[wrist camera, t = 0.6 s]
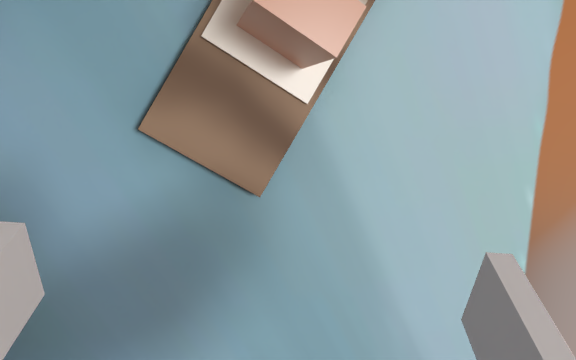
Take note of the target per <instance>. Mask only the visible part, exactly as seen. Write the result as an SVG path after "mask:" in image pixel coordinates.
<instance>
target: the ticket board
mask: <svg viewBox="0 0 576 360" xmlns="http://www.w3.org/2000/svg"><path fill="white" fill-rule="evenodd" d="M221 1H222V0H212V2H211V3H210V5H209V7H208V9H207V10H206V12H205V14H204V16H203V17H202V19H201V21H200V23H199V24H198V26H197V28H196V29H195V31H194V33H193V35H192V36H191V38H190V40H189V42H188V43H187V45H186V47H185V48H184V50H183V52H182V54H181V55H180V57H179V59H178V61H177V62H176V64H175V66H174V68H173V69H172V71H171V73H170V74H169V76H168V78H167V80H166V81H165V83H164V85H163V87H162V88H161V90H160V92H159V93H158V95H157V97H156V99H155V100H154V102H153V104H152V106H151V107H150V109H149V111H148V112H147V114H146V116H145V118H144V119H143V121H142V123H141V125H140V126H139V128H138V130H140V131H142V132H144V133H145V134H147V135H149V136H151V137H153V138H154V139H156V140H158V141H160V142H162V143H163V144H165V145H167V146H169V147H171V148H172V149H174V150H176V151H178V152H179V153H181V154H183V155H185V156H187V157H188V158H190V159H192V160H194V161H196V162H197V163H199V164H201V165H203V166H205V167H206V168H208V169H210V170H212V171H214V172H215V173H217V174H219V175H221V176H223V177H224V178H226V179H228V180H230V181H232V182H233V183H235V184H237V185H239V186H241V187H242V188H244V189H246V190H248V191H250V192H251V193H253V194H255V195H257V196H259V197H260V196H261V194H262V193H263V191H264V189H265V188H266V186H267V184H268V183H269V181H270V179H271V177H272V176H273V174H274V172H275V171H276V169H277V167H278V165H279V164H280V162H281V160H282V159H283V157H284V155H285V153H286V152H287V150H288V148H289V147H290V145H291V143H292V141H293V140H294V138H295V136H296V135H297V133H298V131H299V130H300V128H301V126H302V124H303V123H304V121H305V119H306V118H307V116H308V114H309V112H310V111H311V109H312V107H313V106H314V104H315V102H316V100H317V99H318V97H319V95H320V94H321V92H322V90H323V88H324V87H325V85H326V83H327V82H328V80H329V78H330V77H331V75H332V73H333V71H334V70H335V68H336V66H337V65H338V63H339V61H340V59H341V58H342V56H343V54H344V53H345V51H346V49H347V47H348V46H349V44H350V42H351V41H352V39H353V37H354V35H355V34H356V32H357V30H358V29H359V27H360V25H361V23H362V22H363V20H364V18H365V17H366V15H367V13H368V12H369V10H370V8H371V6H372V5H373V3H374V1H375V0H359V1H360V2H361V3H363V4H364V5H365V6H367V7H366V8H365V10H364V12H363V14H362V15H361V17H360V19H359V20H358V22H357V24H356V26H355V27H354V29H353V31H352V32H351V34H350V36H349V38H348V39H347V41H346V43H345V44H344V46H343V48H342V50H341V51H340V53H339V55H338V56H337V58H334V60H333V61H332V63H331V65H330V66H329V68H328V70H327V72H326V73H325V75H324V77H323V78H322V80H321V82H320V84H319V85H318V87H317V89H316V90H315V92H314V94H313V96H312V97H311V99H310V101H309V102H308V104H306V103H304V102H302V101H301V100H299V99H298V98H296V97H295V96H293V95H292V94H290V93H288V92H287V91H285V90H284V89H282V88H281V87H279V86H277V85H276V84H274V83H273V82H271V81H270V80H268V79H267V78H265V77H263V76H262V75H260V74H259V73H257V72H256V71H254V70H252V69H251V68H249V67H248V66H246V65H245V64H243V63H241V62H240V61H238V60H237V59H235V58H234V57H232V56H231V55H229V54H227V53H226V52H224V51H223V50H221V49H220V48H218V47H216V46H215V45H213V44H212V43H210V42H209V41H207V40H206V39H204V38H202V37H201V35H202V34H203V32H204V30H205V28H206V27H207V25H208V23H209V22H210V20H211V18H212V16H213V15H214V13H215V11H216V9H217V8H218V6H219V4H220V2H221Z"/></svg>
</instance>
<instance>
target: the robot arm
mask: <svg viewBox="0 0 576 360" xmlns="http://www.w3.org/2000/svg"><path fill="white" fill-rule="evenodd" d="M44 295H45V293H44V290H43V286H42V283H41V279H40V275H39V272H38V268H37V265H36V261H35V258H34V254H33V250H32V247H31V243H30V240H29V236H28V233H27V229H26V225H25V223H16V222H0V360H3V359H4V357H5V355H6V354H7V352H8V351H9V349H10V348H11V346H12V345H13V343H14V341H15V340H16V338H17V337H18V335H19V334H20V332H21V331H22V329H23V327H24V326H25V324H26V323H27V321H28V320H29V318H30V317H31V315H32V313H33V312H34V310H35V309H36V307H37V306H38V304H39V303H40V301H41V299H42V298H43V296H44ZM461 320H462V323H463V326H464V328H465V331H466V333H467V336H468V338H469V341H470V344H471V346H472V349H473V351H474V354H475V356H476V359H477V360H576V358H575V357H574V355H573V353H572V352H571V350H570V348H569V347H568V345H567V343H566V342H565V340H564V338H563V337H562V335H561V333H560V332H559V330H558V329H557V327H556V325H555V324H554V322H553V320H552V319H551V317H550V315H549V314H548V312H547V310H546V309H545V307H544V305H543V304H542V302H541V300H540V299H539V297H538V296H537V294H536V292H535V291H534V289H533V287H532V286H531V284H530V283H529V281H528V279H527V277H526V276H525V274H524V272H523V271H522V269H521V268H520V266H519V264H518V263H517V261H516V259H515V258H514V256H513V254H502V253H487V252H486V254H485V257H484V259H483V262H482V265H481V267H480V270H479V273H478V275H477V278H476V281H475V284H474V286H473V289H472V292H471V294H470V297H469V300H468V303H467V305H466V308H465V311H464V313H463V316H462V319H461Z"/></svg>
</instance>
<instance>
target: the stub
mask: <svg viewBox="0 0 576 360" xmlns="http://www.w3.org/2000/svg"><path fill="white" fill-rule="evenodd" d="M366 7H367V6H365V5H364V4H363V3H361V2H360V1H359V0H222V1H221V2H220V4H219V6H218V8H217V9H216V11H215V13H214V15H213V16H212V18H211V20H210V22H209V23H208V25H207V27H206V28H205V30H204V32H203V34H202V35H201V37H202V38H204V39H206V40H207V41H209V42H210V43H212V44H213V45H215V46H216V47H218V48H220V49H221V50H223V51H224V52H226V53H227V54H229V55H231V56H232V57H234V58H235V59H237V60H238V61H240V62H241V63H243V64H245V65H246V66H248V67H249V68H251V69H252V70H254V71H256V72H257V73H259V74H260V75H262V76H263V77H265V78H267V79H268V80H270V81H271V82H273V83H274V84H276V85H277V86H279V87H281V88H282V89H284V90H285V91H287V92H288V93H290V94H292V95H293V96H295V97H296V98H298V99H299V100H301V101H302V102H304V103H306V104H308V102H309V101H310V99H311V97H312V96H313V94H314V92H315V90H316V89H317V87H318V85H319V84H320V82H321V80H322V78H323V77H324V75H325V73H326V72H327V70H328V68H329V66H330V65H331V63H332V61H333V60H334V58H337V56H338V55H339V53H340V51H341V50H342V48H343V46H344V44H345V43H346V41H347V39H348V38H349V36H350V34H351V32H352V31H353V29H354V27H355V26H356V24H357V22H358V20H359V19H360V17H361V15H362V14H363V12H364V10H365V8H366Z"/></svg>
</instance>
